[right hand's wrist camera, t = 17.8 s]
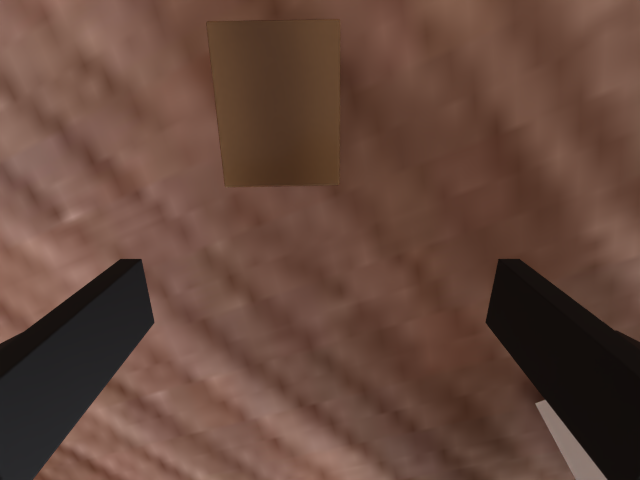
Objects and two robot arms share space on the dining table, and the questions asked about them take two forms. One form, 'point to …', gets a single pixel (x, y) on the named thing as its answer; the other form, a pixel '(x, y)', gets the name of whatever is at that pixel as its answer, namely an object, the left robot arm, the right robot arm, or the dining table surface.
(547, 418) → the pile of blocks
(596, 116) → the dining table surface
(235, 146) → the block
